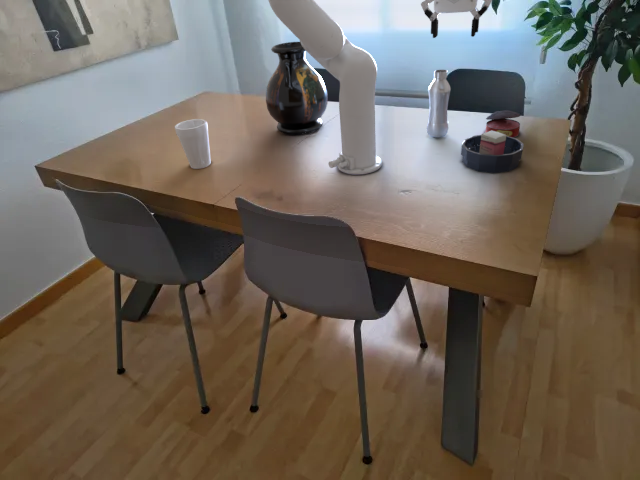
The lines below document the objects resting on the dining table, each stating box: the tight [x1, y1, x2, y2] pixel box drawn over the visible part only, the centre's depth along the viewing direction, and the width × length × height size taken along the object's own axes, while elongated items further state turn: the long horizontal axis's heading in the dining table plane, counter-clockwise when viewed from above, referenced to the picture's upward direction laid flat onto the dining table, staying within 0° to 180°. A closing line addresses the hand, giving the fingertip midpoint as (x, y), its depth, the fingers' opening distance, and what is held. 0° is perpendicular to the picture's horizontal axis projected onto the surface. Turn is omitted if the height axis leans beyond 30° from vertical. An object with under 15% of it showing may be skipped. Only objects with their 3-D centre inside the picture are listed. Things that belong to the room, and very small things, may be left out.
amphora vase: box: [265, 41, 329, 136], centre depth 152 cm, size 22×22×28 cm
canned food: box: [484, 109, 521, 138], centre depth 138 cm, size 11×10×10 cm
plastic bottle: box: [426, 69, 452, 138], centre depth 137 cm, size 6×7×20 cm
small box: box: [479, 130, 506, 155], centre depth 121 cm, size 5×4×8 cm
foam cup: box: [174, 118, 212, 170], centre depth 136 cm, size 10×9×13 cm
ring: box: [460, 134, 525, 174], centre depth 122 cm, size 15×15×5 cm
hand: (453, 36), depth 116 cm, fingers open, 9 cm apart
